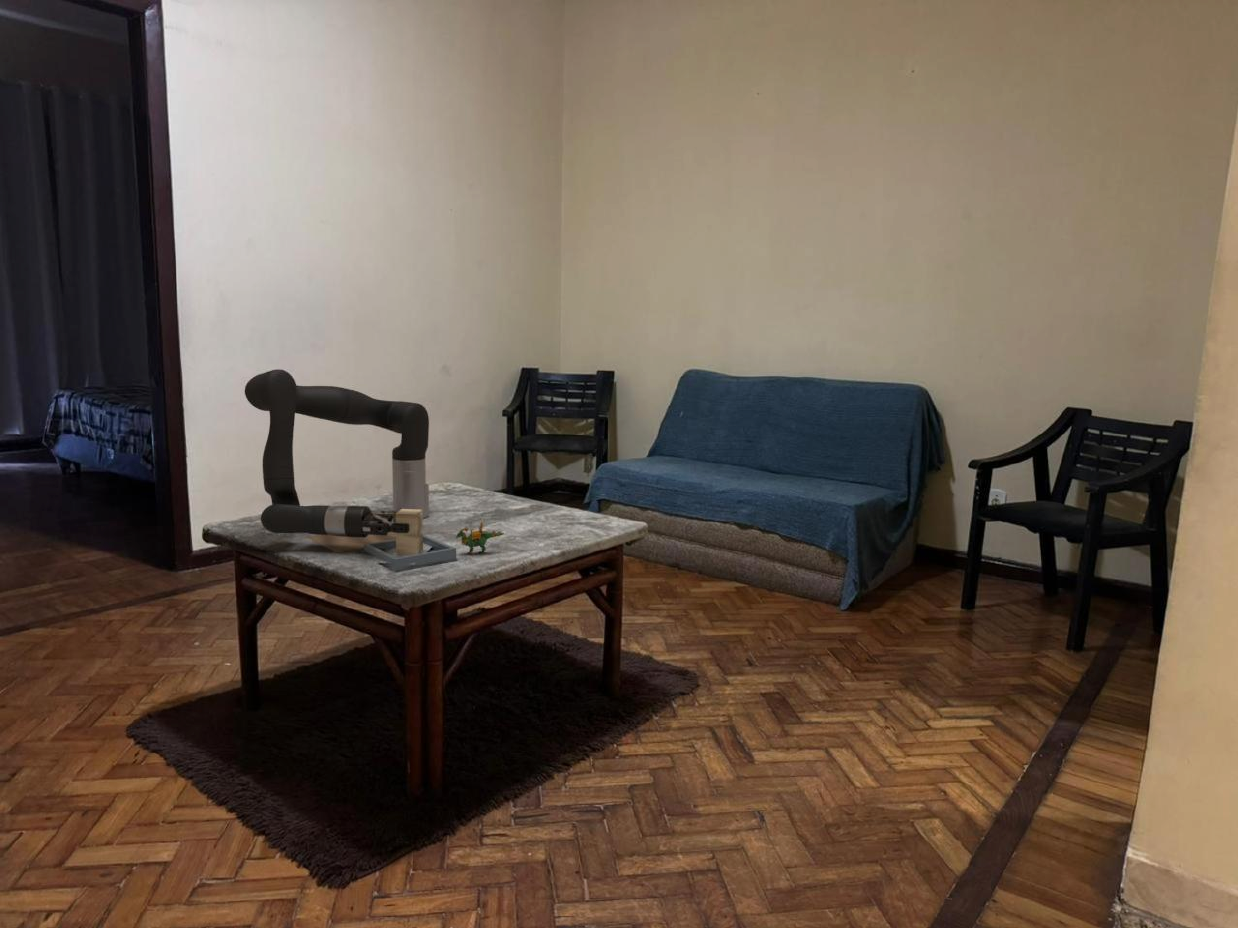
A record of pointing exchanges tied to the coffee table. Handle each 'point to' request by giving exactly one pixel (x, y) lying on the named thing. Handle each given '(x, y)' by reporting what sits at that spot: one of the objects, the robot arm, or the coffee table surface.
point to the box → (431, 557)
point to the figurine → (476, 538)
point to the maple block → (410, 532)
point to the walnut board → (349, 541)
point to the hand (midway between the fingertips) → (414, 523)
